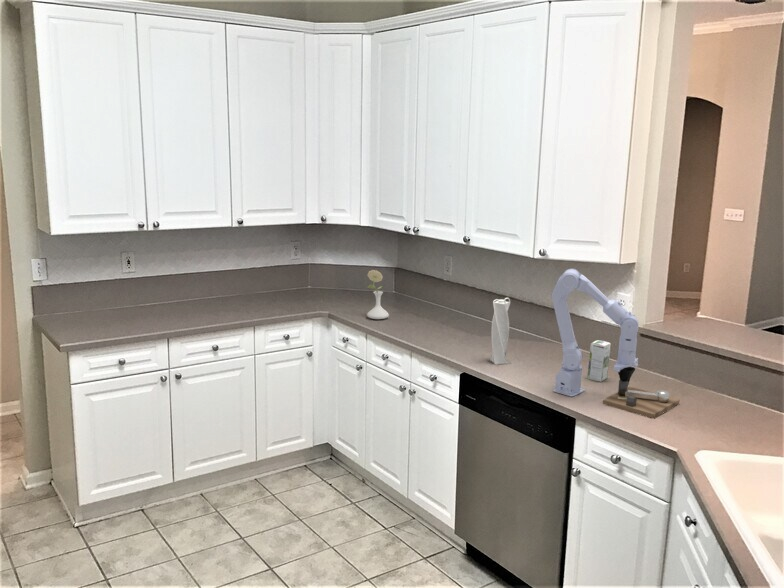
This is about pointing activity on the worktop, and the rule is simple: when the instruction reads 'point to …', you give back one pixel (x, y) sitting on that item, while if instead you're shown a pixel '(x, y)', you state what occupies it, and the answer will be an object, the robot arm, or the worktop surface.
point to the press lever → (642, 393)
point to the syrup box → (599, 360)
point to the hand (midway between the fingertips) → (624, 386)
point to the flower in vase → (377, 310)
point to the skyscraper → (500, 331)
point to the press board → (640, 404)
